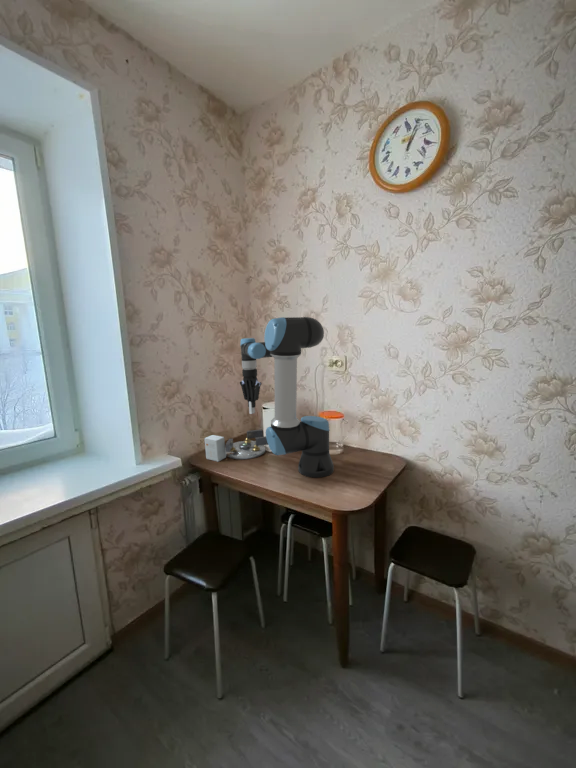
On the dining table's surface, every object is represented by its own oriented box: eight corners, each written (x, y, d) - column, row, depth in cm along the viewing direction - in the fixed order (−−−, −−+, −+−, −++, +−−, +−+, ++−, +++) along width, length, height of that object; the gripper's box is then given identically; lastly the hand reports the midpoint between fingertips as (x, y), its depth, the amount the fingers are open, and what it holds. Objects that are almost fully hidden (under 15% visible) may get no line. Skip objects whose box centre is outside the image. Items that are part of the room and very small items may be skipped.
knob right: (244, 443, 171) (243, 432, 170) (243, 441, 174) (243, 430, 173) (263, 441, 173) (262, 430, 172) (262, 439, 176) (261, 428, 175)
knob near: (253, 451, 160) (252, 439, 159) (252, 448, 164) (251, 437, 163) (273, 449, 162) (272, 437, 161) (271, 446, 166) (271, 435, 165)
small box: (226, 457, 159) (224, 436, 157) (218, 462, 155) (216, 440, 153) (214, 454, 164) (212, 434, 162) (205, 458, 159) (204, 437, 157)
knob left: (228, 448, 165) (228, 437, 164) (236, 448, 165) (235, 437, 164) (224, 456, 155) (223, 444, 154) (231, 456, 155) (231, 444, 154)
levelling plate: (273, 448, 169) (272, 440, 169) (248, 462, 153) (247, 454, 152) (243, 441, 180) (242, 435, 179) (216, 454, 164) (216, 447, 163)
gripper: (264, 368, 169) (266, 413, 173) (244, 367, 176) (247, 410, 180) (255, 369, 163) (257, 416, 167) (235, 369, 170) (238, 413, 174)
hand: (252, 413), depth 174 cm, fingers closed
